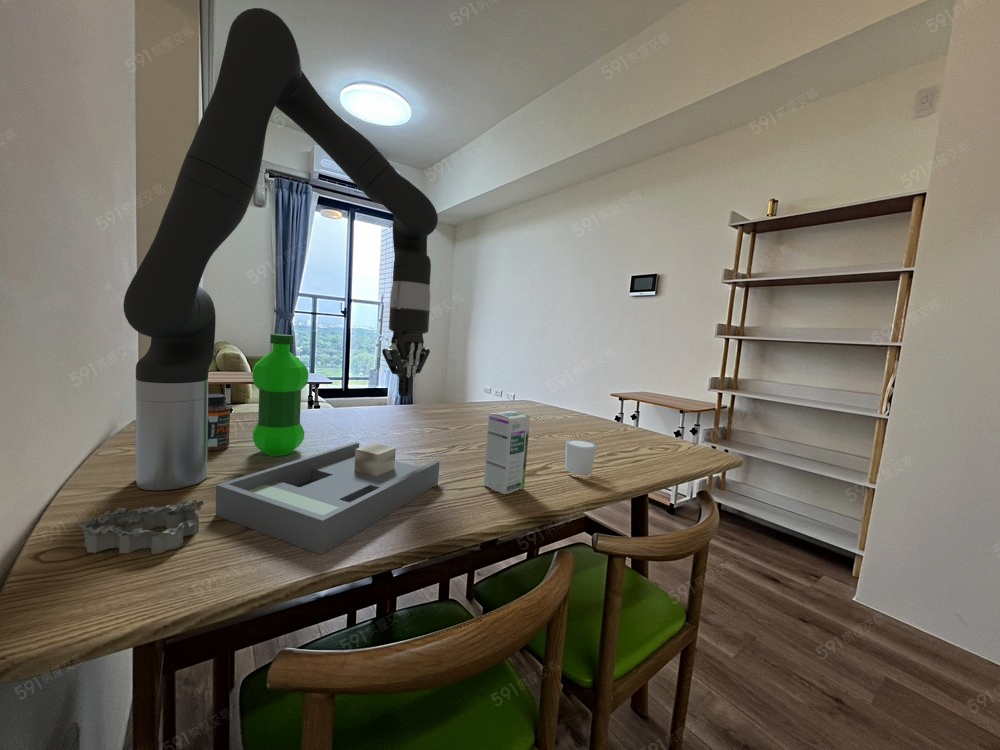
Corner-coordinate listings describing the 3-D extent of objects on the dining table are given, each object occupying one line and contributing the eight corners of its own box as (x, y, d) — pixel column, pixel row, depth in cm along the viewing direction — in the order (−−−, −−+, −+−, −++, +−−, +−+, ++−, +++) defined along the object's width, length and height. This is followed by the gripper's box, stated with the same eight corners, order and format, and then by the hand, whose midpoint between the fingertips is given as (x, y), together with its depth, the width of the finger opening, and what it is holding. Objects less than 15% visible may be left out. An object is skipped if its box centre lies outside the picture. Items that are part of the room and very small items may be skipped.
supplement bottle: (221, 452, 83) (222, 398, 82) (188, 451, 82) (188, 396, 81) (234, 444, 89) (235, 393, 88) (204, 443, 88) (204, 392, 87)
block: (354, 470, 73) (355, 449, 73) (372, 463, 78) (374, 442, 77) (376, 476, 71) (378, 454, 71) (394, 468, 76) (395, 447, 75)
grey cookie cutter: (208, 528, 55) (208, 499, 55) (167, 559, 48) (167, 526, 47) (124, 524, 54) (124, 494, 54) (69, 554, 47) (68, 521, 46)
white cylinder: (583, 468, 94) (586, 439, 93) (599, 479, 88) (603, 447, 87) (556, 469, 92) (560, 439, 91) (571, 480, 85) (575, 448, 85)
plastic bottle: (276, 463, 80) (280, 336, 77) (238, 453, 84) (240, 332, 81) (315, 450, 89) (320, 337, 87) (279, 442, 93) (283, 333, 90)
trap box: (437, 484, 77) (439, 461, 76) (321, 554, 51) (322, 520, 50) (354, 463, 84) (355, 442, 83) (215, 514, 58) (216, 484, 58)
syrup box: (504, 496, 74) (512, 418, 72) (482, 485, 78) (488, 411, 76) (524, 489, 78) (531, 415, 77) (502, 479, 82) (508, 409, 81)
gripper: (413, 309, 86) (408, 389, 88) (371, 303, 74) (367, 397, 76) (444, 311, 83) (438, 394, 85) (405, 305, 71) (400, 402, 73)
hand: (405, 395), depth 80 cm, fingers closed
